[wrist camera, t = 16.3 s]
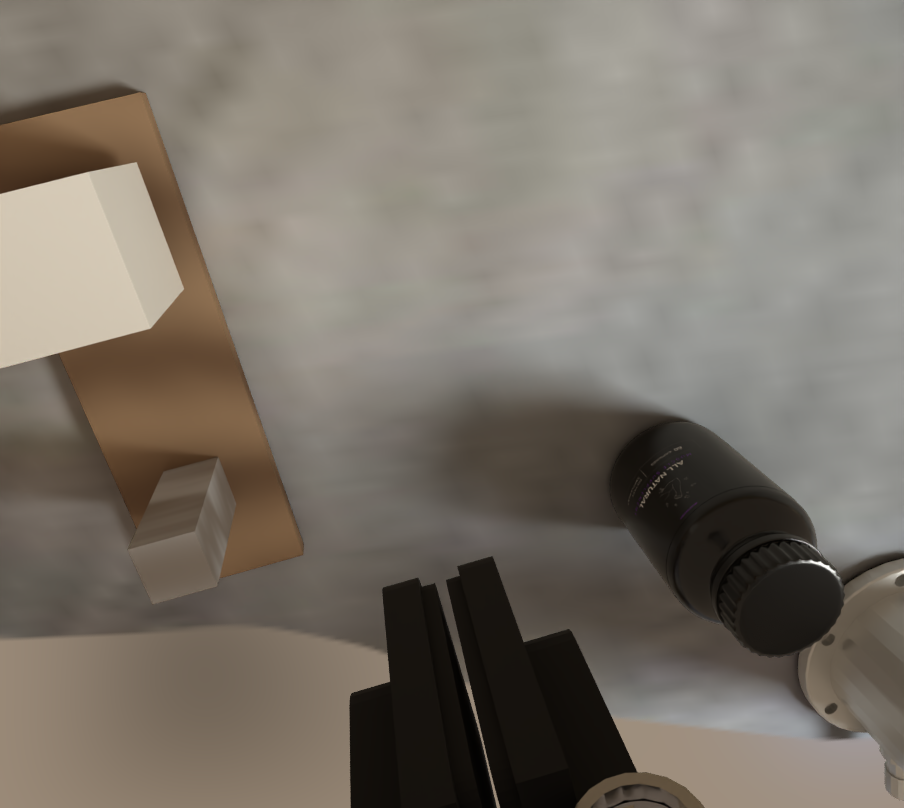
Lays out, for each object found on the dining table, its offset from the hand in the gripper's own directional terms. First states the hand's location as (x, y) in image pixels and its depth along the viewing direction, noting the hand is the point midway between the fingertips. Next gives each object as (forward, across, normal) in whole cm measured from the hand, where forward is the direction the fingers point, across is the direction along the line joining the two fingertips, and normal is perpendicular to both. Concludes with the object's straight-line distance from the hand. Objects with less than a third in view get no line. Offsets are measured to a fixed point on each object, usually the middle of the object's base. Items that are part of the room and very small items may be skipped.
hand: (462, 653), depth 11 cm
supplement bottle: (+26, -12, +13) cm, 32 cm away
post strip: (+26, +10, 0) cm, 28 cm away
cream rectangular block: (+23, +10, -6) cm, 26 cm away
